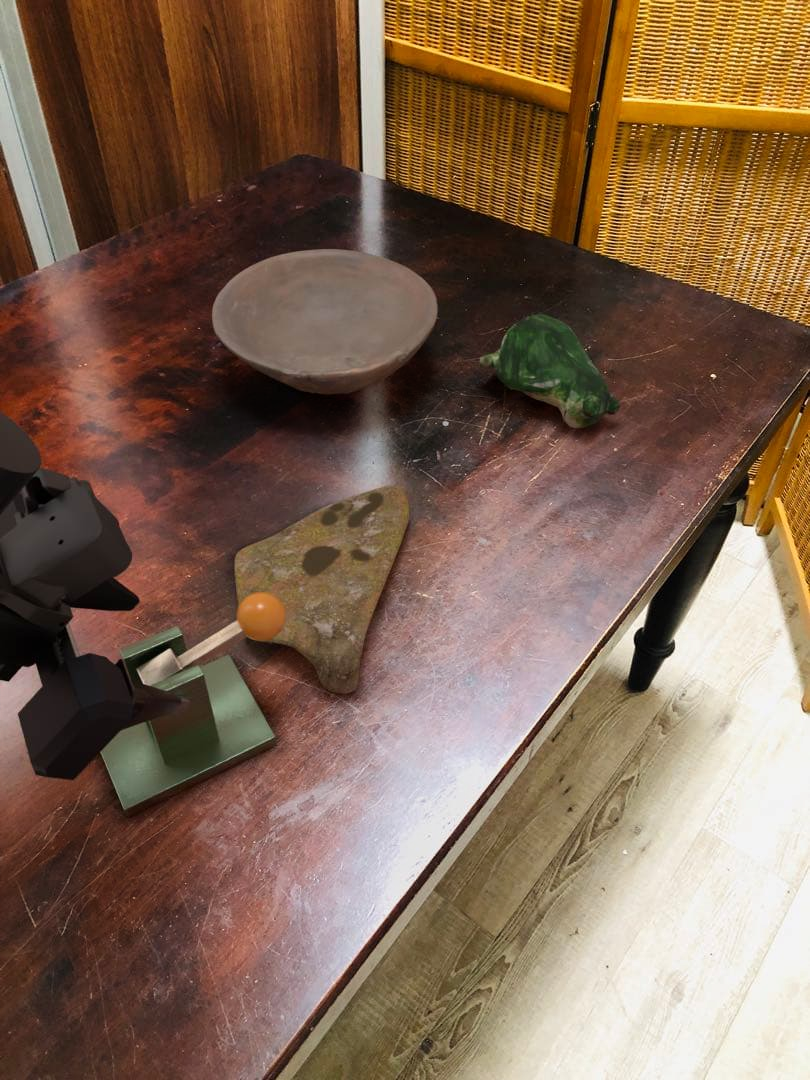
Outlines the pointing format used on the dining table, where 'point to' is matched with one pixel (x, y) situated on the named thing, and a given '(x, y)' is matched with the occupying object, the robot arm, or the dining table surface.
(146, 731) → the switch bracket
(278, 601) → the switch lever
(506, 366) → the figurine
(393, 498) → the decorative stone
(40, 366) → the dining table surface
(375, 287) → the bowl
